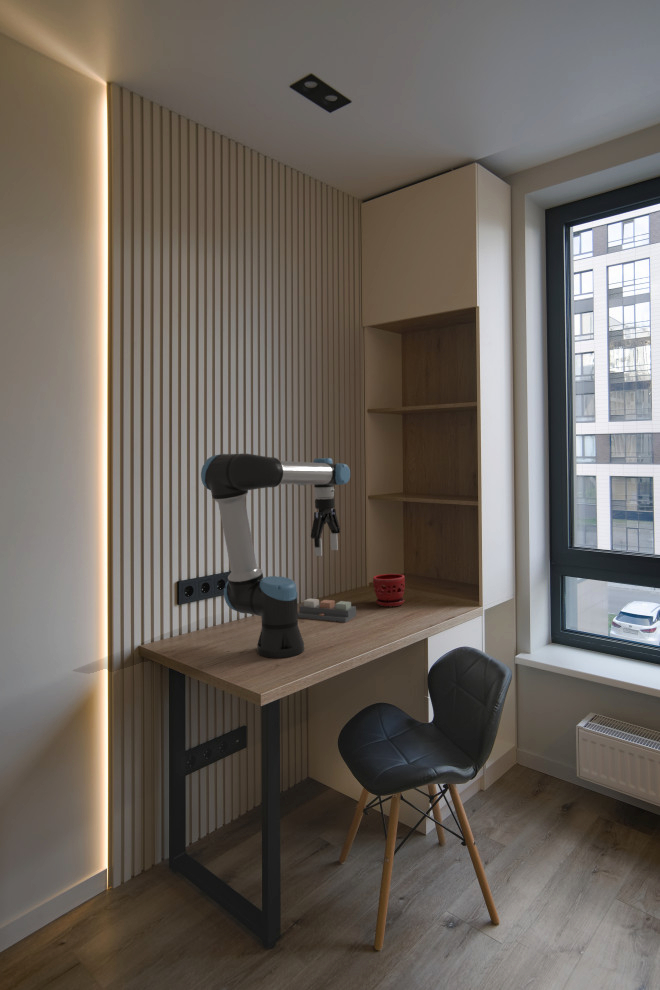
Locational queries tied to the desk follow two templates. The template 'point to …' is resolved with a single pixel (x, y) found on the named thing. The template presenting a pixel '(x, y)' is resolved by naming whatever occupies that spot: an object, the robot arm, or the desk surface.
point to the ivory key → (311, 602)
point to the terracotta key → (327, 604)
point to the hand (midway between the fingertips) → (326, 552)
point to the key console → (327, 613)
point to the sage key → (343, 605)
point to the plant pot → (389, 589)
